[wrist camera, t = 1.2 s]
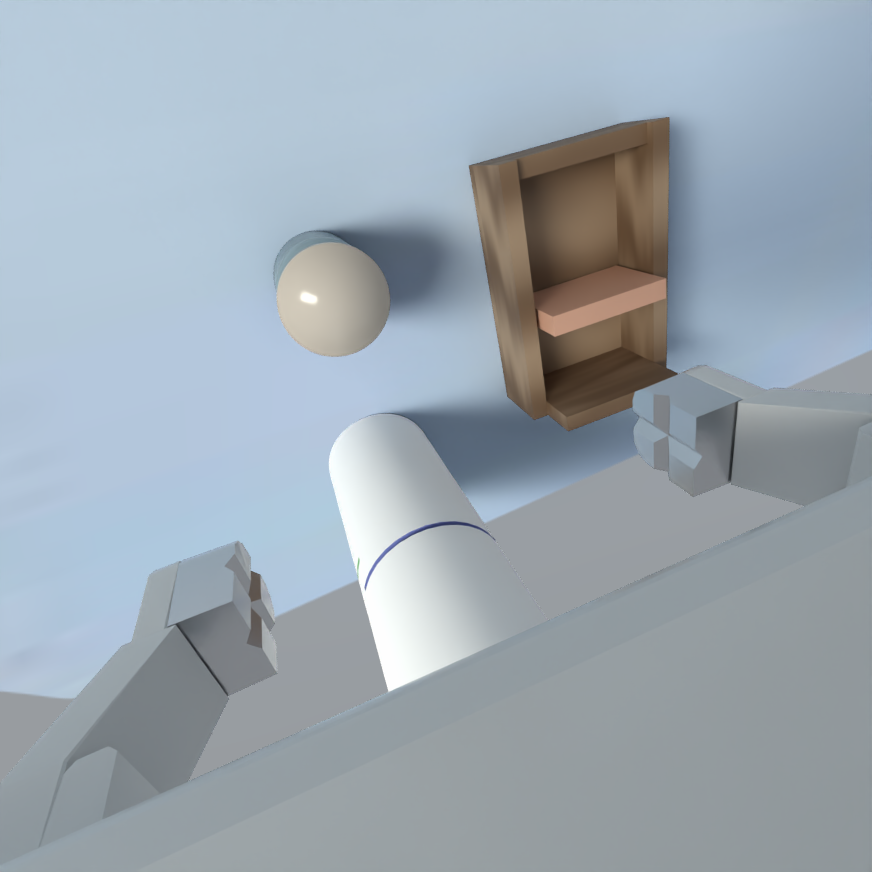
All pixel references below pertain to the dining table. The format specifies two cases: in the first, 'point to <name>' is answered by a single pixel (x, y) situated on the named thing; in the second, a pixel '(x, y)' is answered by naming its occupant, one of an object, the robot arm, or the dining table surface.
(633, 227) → the brown wooden open box
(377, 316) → the jar
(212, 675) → the robot arm
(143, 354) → the dining table surface
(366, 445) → the cylindrical container
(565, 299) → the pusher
